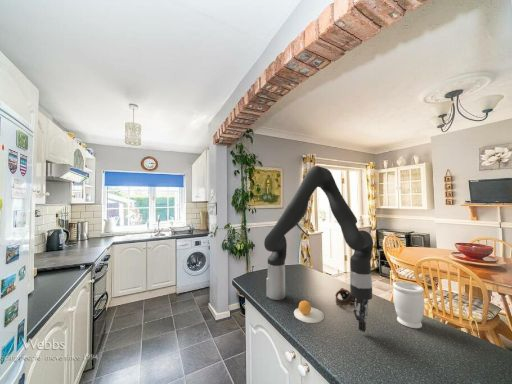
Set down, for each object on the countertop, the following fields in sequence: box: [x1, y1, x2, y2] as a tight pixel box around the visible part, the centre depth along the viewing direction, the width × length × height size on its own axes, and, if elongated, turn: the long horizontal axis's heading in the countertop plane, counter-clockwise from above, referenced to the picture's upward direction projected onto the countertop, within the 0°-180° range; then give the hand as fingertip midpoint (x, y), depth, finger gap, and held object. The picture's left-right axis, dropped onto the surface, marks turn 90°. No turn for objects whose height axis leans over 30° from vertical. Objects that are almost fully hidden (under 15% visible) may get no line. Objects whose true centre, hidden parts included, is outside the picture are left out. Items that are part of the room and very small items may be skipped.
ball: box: [298, 300, 312, 314], centre depth 92 cm, size 6×6×6 cm
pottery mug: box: [335, 287, 356, 307], centre depth 101 cm, size 12×10×8 cm
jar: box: [392, 281, 425, 329], centre depth 85 cm, size 11×10×15 cm
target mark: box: [293, 306, 325, 324], centre depth 91 cm, size 13×13×1 cm
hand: (362, 330), depth 78 cm, fingers closed
